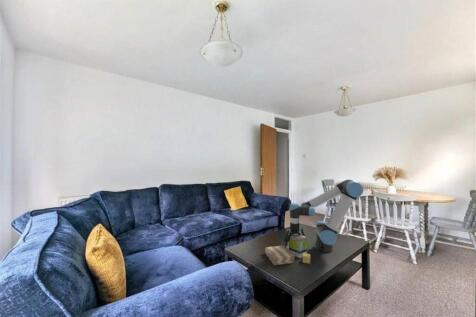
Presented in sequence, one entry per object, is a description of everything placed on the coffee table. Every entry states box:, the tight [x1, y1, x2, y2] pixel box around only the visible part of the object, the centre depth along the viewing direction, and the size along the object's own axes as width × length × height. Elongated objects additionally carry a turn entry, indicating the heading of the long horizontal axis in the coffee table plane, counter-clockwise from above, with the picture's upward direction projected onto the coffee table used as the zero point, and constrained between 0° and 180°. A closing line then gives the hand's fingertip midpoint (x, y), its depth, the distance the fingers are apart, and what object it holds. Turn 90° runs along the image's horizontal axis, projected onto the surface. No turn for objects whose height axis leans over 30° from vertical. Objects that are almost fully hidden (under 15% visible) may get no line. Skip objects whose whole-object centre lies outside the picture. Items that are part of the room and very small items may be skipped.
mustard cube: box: [302, 252, 311, 265], centre depth 155 cm, size 5×5×5 cm
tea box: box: [284, 234, 308, 259], centre depth 168 cm, size 15×10×15 cm
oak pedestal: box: [264, 245, 296, 266], centre depth 161 cm, size 16×19×5 cm
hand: (294, 248), depth 169 cm, fingers closed on tea box, 12 cm apart
